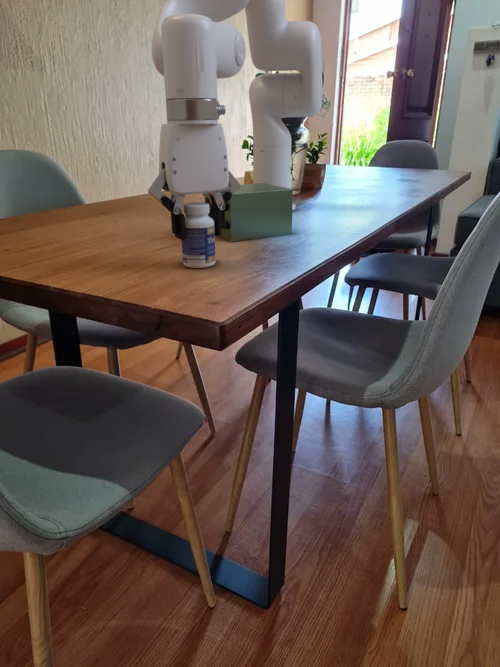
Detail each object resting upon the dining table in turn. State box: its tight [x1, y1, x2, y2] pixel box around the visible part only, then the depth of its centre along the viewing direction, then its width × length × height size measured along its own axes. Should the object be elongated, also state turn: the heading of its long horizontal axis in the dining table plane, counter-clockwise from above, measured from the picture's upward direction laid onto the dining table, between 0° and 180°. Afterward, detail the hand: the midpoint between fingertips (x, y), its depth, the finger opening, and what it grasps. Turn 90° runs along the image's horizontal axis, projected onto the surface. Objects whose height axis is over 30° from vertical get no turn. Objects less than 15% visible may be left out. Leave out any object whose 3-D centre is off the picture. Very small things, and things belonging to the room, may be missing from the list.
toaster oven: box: [201, 183, 294, 243], centre depth 105 cm, size 12×15×9 cm
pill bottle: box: [181, 201, 216, 269], centre depth 82 cm, size 5×5×10 cm
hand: (197, 234), depth 82 cm, fingers closed on pill bottle, 5 cm apart
